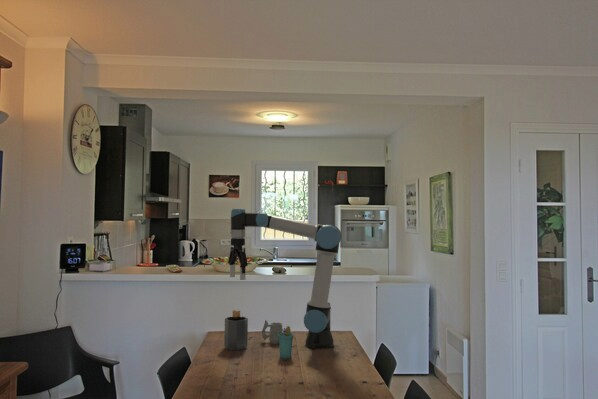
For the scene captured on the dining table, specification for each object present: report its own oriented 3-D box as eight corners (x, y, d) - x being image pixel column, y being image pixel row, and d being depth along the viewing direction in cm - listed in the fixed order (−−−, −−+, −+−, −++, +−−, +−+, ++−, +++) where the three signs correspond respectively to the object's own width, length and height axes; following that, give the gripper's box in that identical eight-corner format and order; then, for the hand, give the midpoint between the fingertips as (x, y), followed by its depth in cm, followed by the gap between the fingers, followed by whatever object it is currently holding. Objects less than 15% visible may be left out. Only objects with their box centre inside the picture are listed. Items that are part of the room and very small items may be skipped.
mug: (284, 343, 251) (284, 321, 252) (262, 344, 250) (262, 321, 250) (282, 340, 259) (282, 318, 260) (261, 340, 257) (261, 318, 258)
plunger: (244, 345, 241) (244, 311, 242) (232, 346, 238) (233, 312, 239) (239, 342, 247) (239, 309, 248) (227, 343, 243) (228, 310, 244)
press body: (250, 348, 240) (250, 319, 241) (229, 351, 235) (230, 321, 235) (238, 342, 253) (239, 314, 254) (219, 344, 247) (219, 316, 248)
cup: (291, 362, 218) (291, 329, 219) (275, 361, 219) (275, 329, 219) (294, 353, 232) (295, 323, 233) (279, 353, 233) (279, 322, 233)
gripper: (222, 237, 254) (222, 276, 253) (240, 238, 233) (240, 281, 231) (235, 237, 258) (234, 275, 257) (254, 238, 236) (254, 280, 235)
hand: (237, 278), depth 244 cm, fingers open, 13 cm apart
